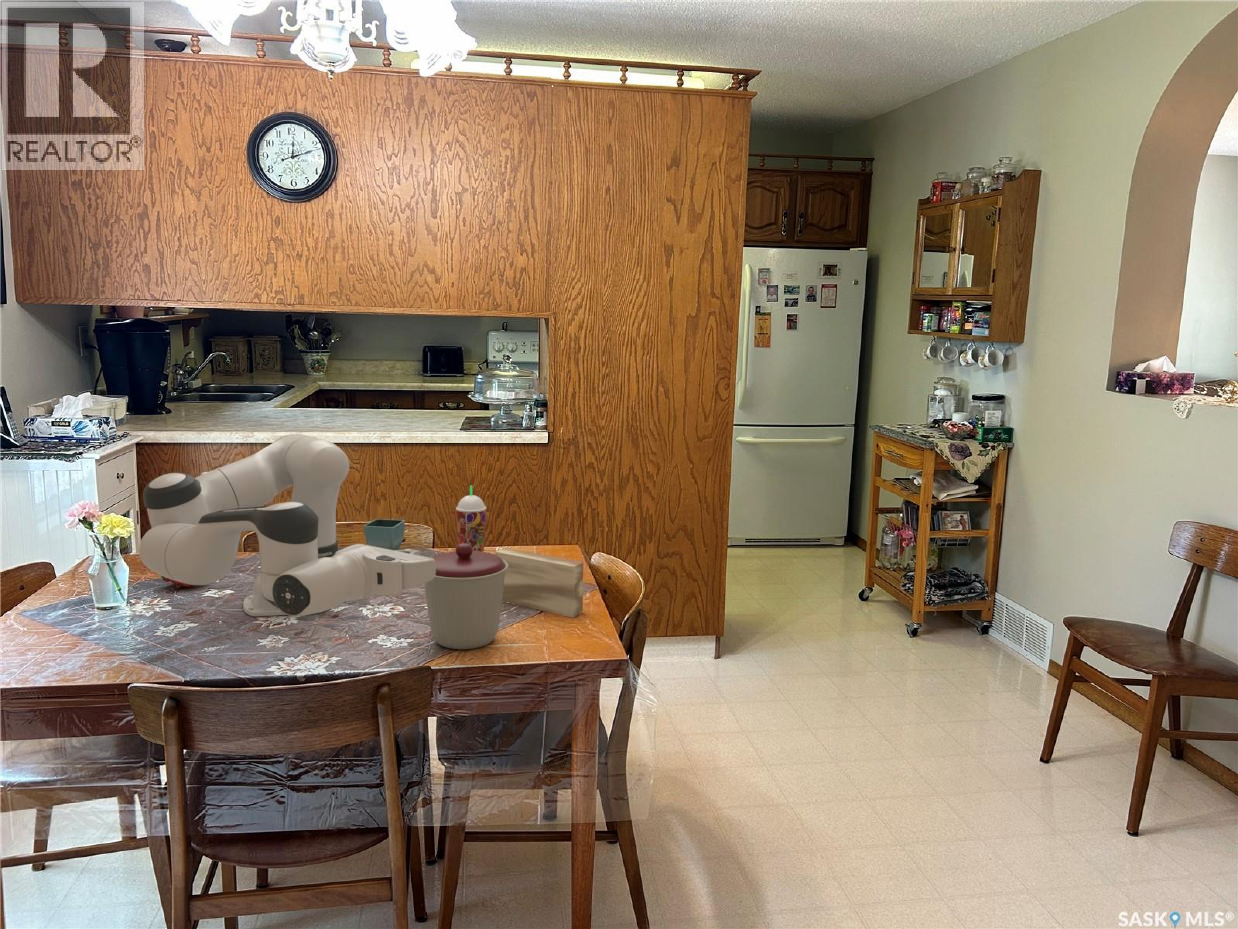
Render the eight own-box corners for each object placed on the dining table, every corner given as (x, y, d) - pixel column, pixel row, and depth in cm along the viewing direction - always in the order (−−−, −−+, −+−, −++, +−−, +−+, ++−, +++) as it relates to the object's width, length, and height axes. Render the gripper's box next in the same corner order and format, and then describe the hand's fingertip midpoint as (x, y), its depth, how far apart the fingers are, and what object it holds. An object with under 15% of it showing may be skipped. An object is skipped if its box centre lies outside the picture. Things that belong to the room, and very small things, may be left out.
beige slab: (573, 617, 208) (573, 566, 206) (495, 600, 219) (495, 551, 217) (582, 612, 212) (583, 562, 209) (506, 596, 222) (505, 548, 220)
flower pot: (363, 557, 253) (362, 525, 252) (376, 549, 262) (376, 518, 260) (393, 559, 252) (392, 527, 250) (406, 551, 260) (405, 520, 259)
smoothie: (484, 560, 253) (483, 488, 249) (453, 559, 253) (452, 488, 249) (488, 552, 261) (488, 482, 257) (459, 551, 261) (458, 482, 258)
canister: (403, 649, 188) (401, 549, 184) (450, 621, 204) (449, 529, 201) (480, 663, 181) (480, 560, 178) (523, 633, 198) (523, 538, 194)
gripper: (320, 579, 169) (376, 561, 181) (402, 598, 159) (455, 578, 171) (319, 546, 168) (374, 530, 180) (401, 563, 158) (455, 545, 170)
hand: (415, 553), depth 175 cm, fingers closed
